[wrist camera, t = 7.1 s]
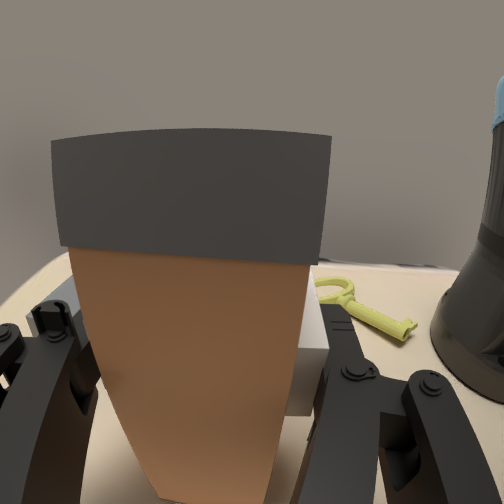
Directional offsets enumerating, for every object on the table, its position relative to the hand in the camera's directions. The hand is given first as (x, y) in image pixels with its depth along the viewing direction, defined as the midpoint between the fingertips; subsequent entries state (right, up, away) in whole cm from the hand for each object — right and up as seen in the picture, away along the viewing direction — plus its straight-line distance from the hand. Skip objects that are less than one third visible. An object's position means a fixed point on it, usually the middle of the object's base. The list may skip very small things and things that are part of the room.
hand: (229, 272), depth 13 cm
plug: (-1, -9, -2) cm, 10 cm away
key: (+9, -5, +13) cm, 16 cm away
